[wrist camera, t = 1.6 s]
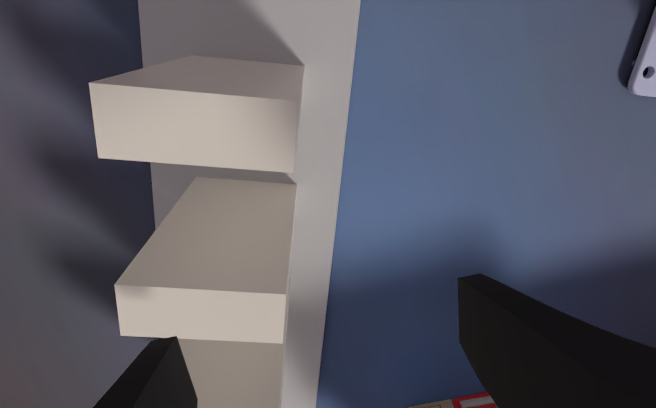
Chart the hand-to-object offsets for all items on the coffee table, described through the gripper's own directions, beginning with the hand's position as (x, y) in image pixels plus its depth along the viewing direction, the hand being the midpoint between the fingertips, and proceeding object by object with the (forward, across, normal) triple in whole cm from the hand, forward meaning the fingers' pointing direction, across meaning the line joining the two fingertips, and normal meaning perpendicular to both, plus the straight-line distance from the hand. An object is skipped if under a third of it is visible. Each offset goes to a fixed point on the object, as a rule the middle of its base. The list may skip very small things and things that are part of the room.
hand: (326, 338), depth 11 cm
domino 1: (+11, +1, -6) cm, 12 cm away
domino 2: (+11, +2, 0) cm, 11 cm away
